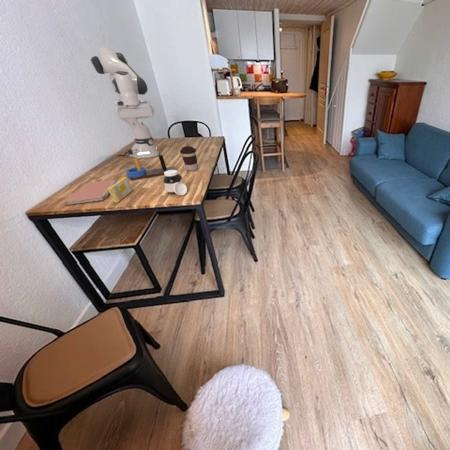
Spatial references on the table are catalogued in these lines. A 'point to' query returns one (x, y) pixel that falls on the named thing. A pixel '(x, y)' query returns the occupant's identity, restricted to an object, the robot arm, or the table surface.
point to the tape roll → (136, 172)
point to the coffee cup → (189, 157)
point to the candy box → (120, 189)
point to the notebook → (91, 192)
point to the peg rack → (152, 172)
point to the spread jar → (174, 183)
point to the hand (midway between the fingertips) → (138, 125)
